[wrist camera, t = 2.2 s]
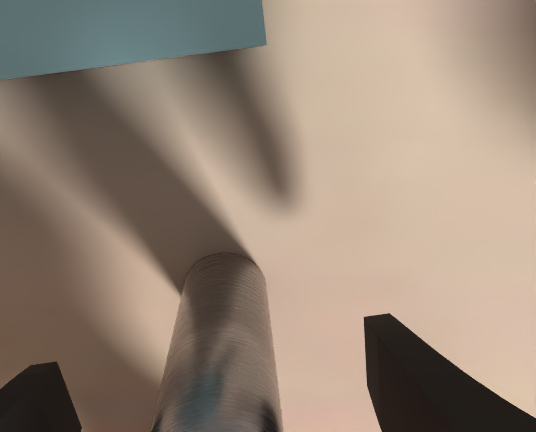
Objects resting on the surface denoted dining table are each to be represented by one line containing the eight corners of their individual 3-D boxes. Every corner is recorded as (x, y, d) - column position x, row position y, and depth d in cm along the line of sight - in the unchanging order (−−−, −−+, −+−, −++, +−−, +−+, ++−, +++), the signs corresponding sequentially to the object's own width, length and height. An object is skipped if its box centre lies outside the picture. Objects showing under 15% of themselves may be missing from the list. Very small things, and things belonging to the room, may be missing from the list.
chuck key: (260, 247, 13) (315, 719, 4) (270, 318, 14) (333, 834, 5) (176, 259, 13) (27, 764, 4) (192, 329, 14) (102, 871, 5)
